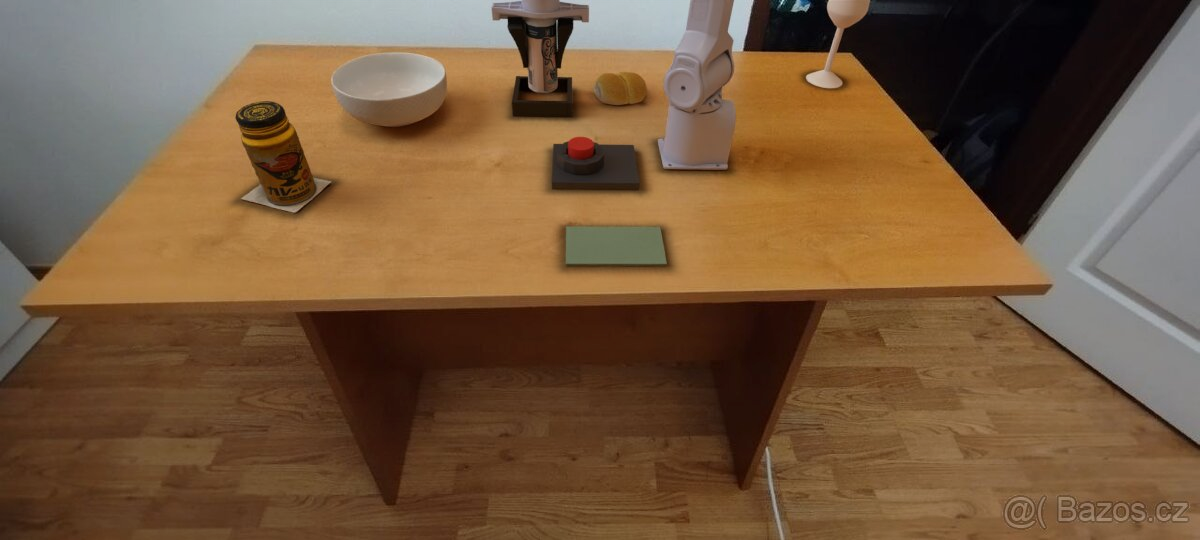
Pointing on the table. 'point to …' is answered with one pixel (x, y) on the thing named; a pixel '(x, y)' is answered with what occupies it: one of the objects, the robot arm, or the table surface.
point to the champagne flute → (838, 37)
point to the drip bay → (542, 107)
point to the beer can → (542, 54)
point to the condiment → (276, 158)
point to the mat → (614, 246)
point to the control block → (596, 168)
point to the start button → (580, 148)
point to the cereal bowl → (390, 88)
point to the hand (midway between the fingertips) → (542, 65)
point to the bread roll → (620, 88)
